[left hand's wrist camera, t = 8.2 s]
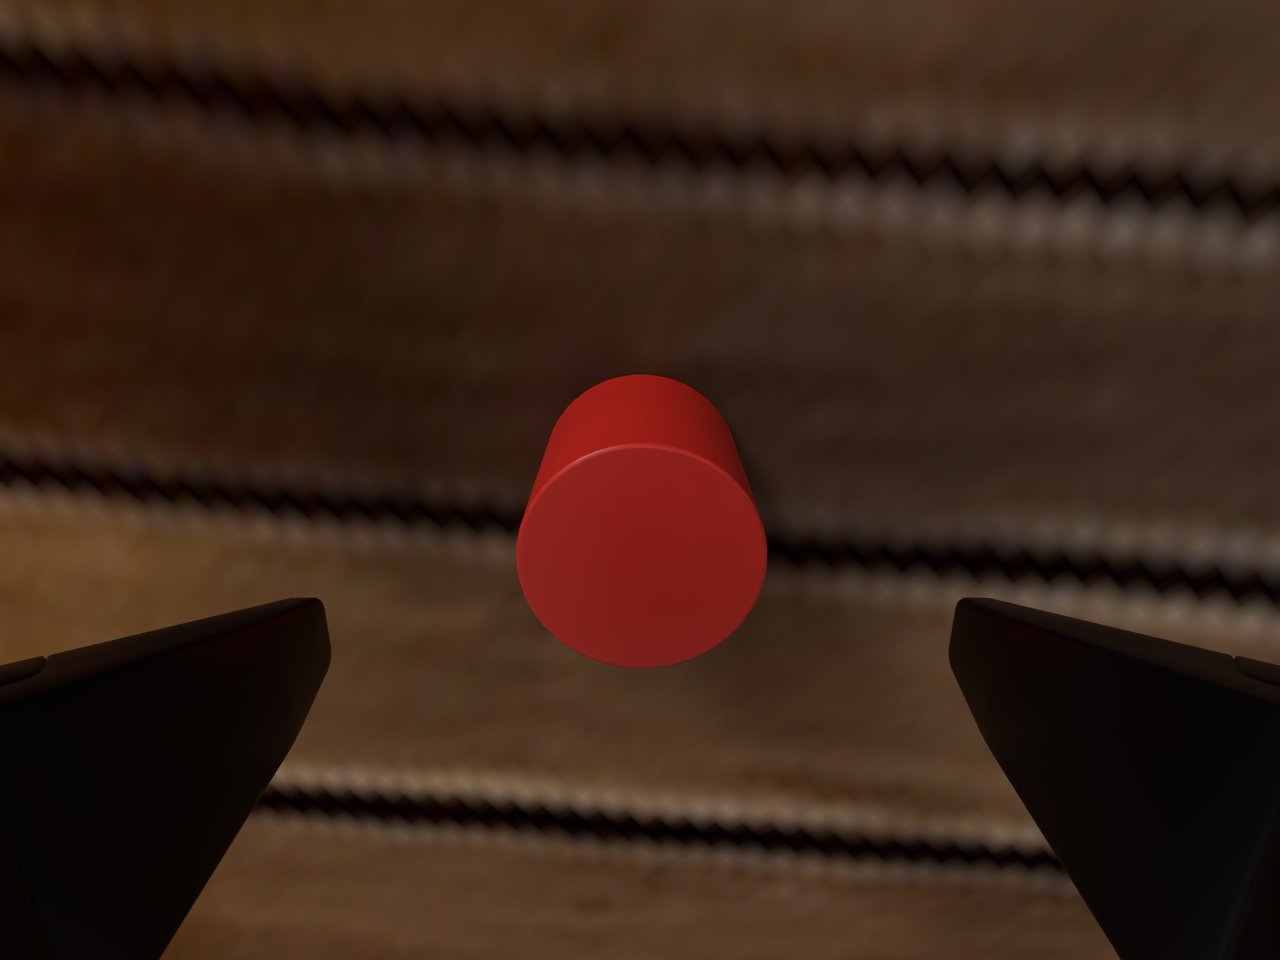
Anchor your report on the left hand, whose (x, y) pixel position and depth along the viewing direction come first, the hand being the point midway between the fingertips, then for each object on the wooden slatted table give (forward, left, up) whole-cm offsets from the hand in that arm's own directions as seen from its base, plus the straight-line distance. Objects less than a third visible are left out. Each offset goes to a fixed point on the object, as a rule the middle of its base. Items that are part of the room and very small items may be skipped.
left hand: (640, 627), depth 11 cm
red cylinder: (0, 0, -6) cm, 6 cm away
